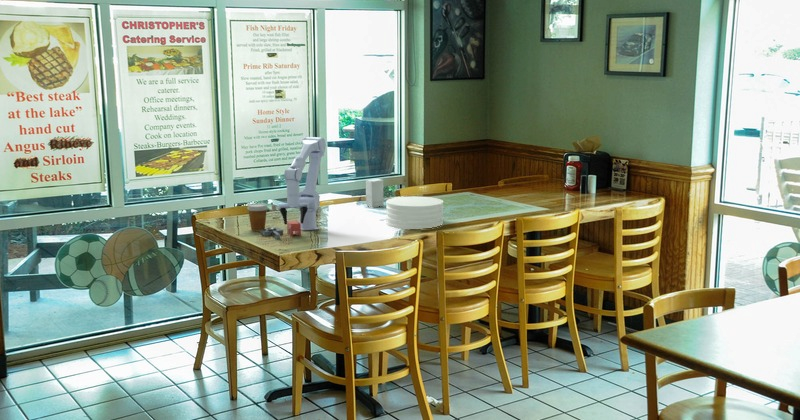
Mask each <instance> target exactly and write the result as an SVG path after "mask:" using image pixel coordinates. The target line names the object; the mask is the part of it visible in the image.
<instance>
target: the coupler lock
mask: <svg viewBox="0 0 800 420" xmlns="http://www.w3.org/2000/svg"><path fill="white" fill-rule="evenodd" d="M286 231H287V232H286V234H287V235H290V236H289V237H290V238H293V237H294V234H295V235H296V236H298V237H301V236H302V230H301V223H300V222H299V221H298V220H287V224H286Z"/></svg>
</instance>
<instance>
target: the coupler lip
mask: <svg viewBox="0 0 800 420" xmlns="http://www.w3.org/2000/svg"><path fill="white" fill-rule="evenodd" d="M260 234H261V235H263V237H267V236H271V237H273V238H274V239H276V240H281V236H282V235H284V230H283V229H282V228H281V227H275V226H272V227H271V226H270V227H267V228H265V229H261V231H260Z"/></svg>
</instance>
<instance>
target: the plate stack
mask: <svg viewBox="0 0 800 420" xmlns="http://www.w3.org/2000/svg"><path fill="white" fill-rule="evenodd" d="M385 204H386V208H385V209H386V213H385V214H386V217H385V218H386V220H385V221H386V222H385V224H386V226H388V227H390V228H393V227H394V228H395V229H399V228H401V229H400V230H410V229H419V228H432V227H437V226H440V225H441V224H443V225H444V221H443V220H444V216H443V215H444V200H443V199H440V198H436V197H430V196H419V195H418V196H417V195H416V196H414V195H413V196H410V195H409V196H398V197H392V198H388V199H386V201H385ZM440 227H441V226H440ZM394 228H393V229H394ZM437 228H438V227H437ZM432 229H433V228H432Z"/></svg>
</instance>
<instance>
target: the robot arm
mask: <svg viewBox="0 0 800 420" xmlns="http://www.w3.org/2000/svg"><path fill="white" fill-rule="evenodd" d="M301 142H302V143H301V144H302V148H301V151H300V153H299V155H298V156H296V157H295V158H294V160H293V161H292V163H291V165H290V166H289V167H288V168H287V169H285V170H284V173H283V174H284V175H283V177H284V180H285V184H286V203H281V204H277V210H279V212H280V214H281V217H282V218H283V223H284V225H285V226H287V221H288V220H287V218H288V217H287V215H288V210H287V209H298V211H299V221H298V222H300V223H301V231H312V230H313V231H314V230H319V227H317V210H318V209H319V207H320V198H321V197H320V196H321V195H319V193H318V191H316V190H317V189H316V188H317V184H318V178H319V172H320V167H321V162H322V157H324V156H325V152H326V146H327V145H326V144H327V143H326V139H325V138H324V137H323V136H321V137H320V136H319V137H316V136H304V137H303V138H302V141H301ZM309 157H310V158H309ZM308 158H309V159H310V160H309V164H308V171H307V174H306V179H305V186H304V189H303V190H300V181H301V179H302V177H303V176H302V175H303V170H304V169H305V167H306V165H307V161H306V160H307V159H308Z"/></svg>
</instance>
